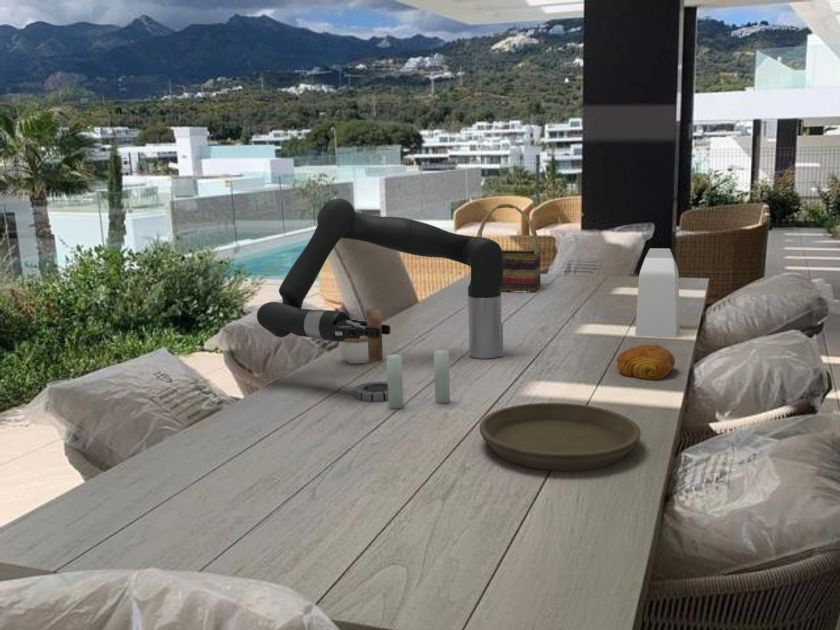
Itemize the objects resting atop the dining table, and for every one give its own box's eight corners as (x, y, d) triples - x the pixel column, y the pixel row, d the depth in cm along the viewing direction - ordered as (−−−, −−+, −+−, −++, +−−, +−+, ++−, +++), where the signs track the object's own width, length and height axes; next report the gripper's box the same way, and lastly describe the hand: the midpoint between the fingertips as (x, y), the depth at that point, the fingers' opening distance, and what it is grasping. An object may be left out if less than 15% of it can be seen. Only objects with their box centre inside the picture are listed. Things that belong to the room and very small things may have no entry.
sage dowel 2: (449, 399, 198) (447, 349, 196) (450, 403, 195) (449, 353, 193) (434, 399, 198) (433, 350, 196) (436, 404, 195) (434, 353, 193)
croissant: (678, 375, 220) (680, 345, 219) (668, 383, 206) (670, 350, 205) (622, 369, 226) (624, 340, 225) (609, 376, 212) (611, 344, 211)
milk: (635, 335, 256) (636, 250, 251) (640, 327, 267) (641, 246, 262) (676, 337, 252) (678, 251, 247) (679, 329, 262) (682, 246, 257)
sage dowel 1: (403, 403, 196) (401, 353, 194) (403, 408, 193) (401, 357, 190) (388, 404, 196) (386, 354, 193) (388, 409, 192) (386, 358, 190)
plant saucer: (646, 428, 175) (646, 406, 174) (632, 485, 146) (632, 460, 145) (500, 416, 185) (500, 396, 184) (460, 468, 156) (460, 444, 155)
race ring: (399, 387, 209) (399, 380, 209) (401, 400, 199) (401, 393, 198) (355, 389, 209) (355, 382, 208) (355, 402, 198) (354, 395, 198)
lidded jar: (372, 366, 230) (370, 333, 229) (334, 365, 233) (332, 332, 231) (381, 357, 241) (380, 324, 239) (345, 356, 243) (344, 324, 241)
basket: (471, 291, 343) (469, 205, 336) (480, 285, 357) (478, 202, 350) (535, 293, 335) (535, 204, 328) (542, 287, 348) (541, 202, 342)
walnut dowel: (382, 357, 204) (380, 309, 201) (382, 361, 200) (381, 311, 198) (368, 358, 204) (366, 309, 201) (368, 361, 200) (366, 312, 198)
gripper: (308, 315, 201) (367, 321, 192) (343, 305, 213) (400, 310, 204) (309, 346, 203) (368, 353, 194) (344, 334, 215) (401, 340, 206)
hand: (384, 331), depth 199 cm, fingers closed on walnut dowel, 3 cm apart
